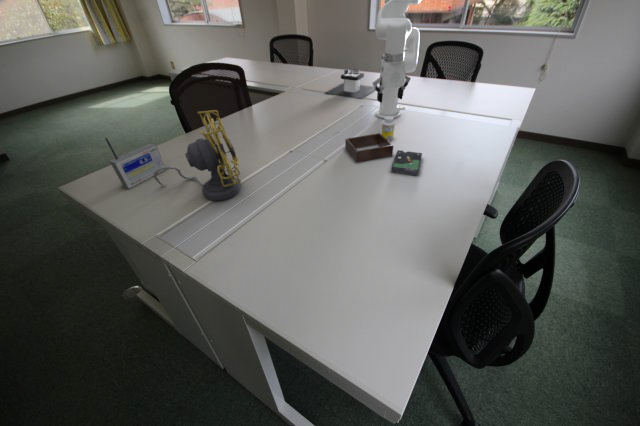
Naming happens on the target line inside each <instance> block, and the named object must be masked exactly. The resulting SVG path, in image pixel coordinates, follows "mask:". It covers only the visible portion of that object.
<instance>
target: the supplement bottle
mask: <svg viewBox="0 0 640 426" xmlns="http://www.w3.org/2000/svg"><path fill="white" fill-rule="evenodd" d="M395 124H396V122H395V121H394V118H393V117H391V116H387V117H385V118H384V119H383V121H382V125H381V135H382V136H383V137H385V138H386V139H387V140H388V141H389V142H390V141H392V140H393V139H394V133H395V126H396V125H395Z"/></svg>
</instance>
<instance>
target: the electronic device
mask: <svg viewBox="0 0 640 426" xmlns="http://www.w3.org/2000/svg"><path fill="white" fill-rule="evenodd" d="M105 141H106V144H107V145H108V147H109V148H110V151H111V152H112V155H113V156H114V158H113V159H111V160H109V163H110V165H111V166H112V167H111V168H113V170H114V172H115V174H116V175H117V177H118V179H119V181H120V183H121V184H122V186H123V187H124V188H126V189H128V190H130V189H131V188H133V187H135V186H137V185H139V184H141V183H143V182H145V181H147V180H149V179H151V178H154V172H155V171H156V170H157V169H159V168H161V167H165V166H166V165H165V163H164V160H163V157H162V156H161V153H160V150H159V149H158V145H157V144H155V143H152V142H151V143H148V144H145V145H143V146H140V147H138V148H136V149H133V150H131V151H129V152H126V153H124V154H122V155H120V156H117V154H116V152H115V150H114V148H113V146H112V144H111V143H110V140H109V139H108V138H107V137H105ZM166 170H167V169H164V170H161V171H159V172H158V173H157V175H159V174H160V173H162V172H165V171H166Z"/></svg>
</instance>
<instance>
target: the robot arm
mask: <svg viewBox="0 0 640 426" xmlns="http://www.w3.org/2000/svg"><path fill="white" fill-rule="evenodd" d="M421 1H422V0H384V4H383V6H382V7H380V9H379V11H378V13H377V16H376V20H375V21H376V22H375V30H374V31H375V32H374V33H375V37H376V39H377V40H380V41H385V49H384V53H383V54H382V56H381V69H380V74H379V78H377V79H375V80H374V81H373V82H372V87H374V89H375V90H374V91H376V92H377V93H376V94H377V96H376V100H377V102H378V103H379V110H376V114H375V115H376V116H377V117H378V118H380V119H385V117H387V116H391V117H393V119H396V118H399V116H400V111H405V110H406V107H405V106H401V105H399V104H398V103H399V100H403V96H404V90H406V87H407V86H408V85H409V83H410V81H411V77H410V76H408V75H406V73H407V74H408V73H414V72H415V71H416V69H417V67H418V60H419V50H420V38H421V34H420V30H419V28H417V27H414V26H413V27H412V25H413V24H412V22H411V20H410V19H409V18H407V17H406V15H405V13H406V12H408V9H409V7H410V6H413V5H419V3H421ZM378 85H379V86H378Z"/></svg>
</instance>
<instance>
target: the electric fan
mask: <svg viewBox="0 0 640 426" xmlns="http://www.w3.org/2000/svg"><path fill="white" fill-rule="evenodd" d="M197 114H198V115H199V117H200V119H201V122H202V125H203V126H204V128H205V130H206V132H204V130H203V129H199V133H200V134H201V135H203V137H204V138H198V139H195V141H194V142H191V143H189V144H188V145H187V149H186V150H187V151H186V152H185V154H184V155H185V158H186V161H187V162H188V164H189V166H190V167H191V168H195V169H197V170H198V171H201V172H202V171H203V172H204V171H207V170H208V172H210V176H211V177H210V178H209V180H207V181H205V183H203V182H202V181H201V180H200V178H199V177H198V176H197V175H195V176H186V175H185V174H183V173H182V171H181V169H180V168H179V167H177V166H173V165H165V167H161V168H159V169H157V170H156V171H155V172H154V176H153V179H155V180H156V182H157V183H158V184H159V185H160V186H162V187H164V184H163V183H162V181H161V180H160V179H159V178H158V174H159V173H158V172H159V171H161V170H164V169H166V170H176V171H177V173H178V175H179V176H180V177H181V178H183V179H185V180H190V181H191V180H196V182H197V183H198V184H199V185H200V186H201V187H202V194H203V196H204V197H205V198H206V199H207V200H210V201H213V202H222V201H226V200H229V199H232V198H233V197H235V196H236V195H237V194H238V193H239V192H240V190H241V182H242V181H241V178H240V175H241V171H240V170H239V167H238V166H239V165H240V161H239V159H238V157H237V153H236V148H235V146H234V145H233V142H232V141H231V140H230V138H229V137H228V136H227V133H226V130H225V127H224V125H223V121H222V119H221V117H220V115H219V110H217V109H211V110H204V111H203V110H202V111H197ZM202 114H204V115H203V116H202ZM210 114H213V115H215V116H216V118H215V119H216V120H217V121H218V122H215V120H214V118H213V117H212V116H211V115H210ZM206 119H207V120H206ZM219 133H221V135H222V137H220V134H219ZM221 138H222V139H223V141H224V143H225V145H226V147H227V148H228V151H226V149H225V147H224V144H223V143H222V140H221ZM227 153H229V154H231V157H232V159H231V160H229V157H228V156H227ZM231 163H232V164H233V167H232V166H231ZM164 171H165V170H164ZM157 173H158V174H157ZM227 173H228V174H227Z"/></svg>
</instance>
